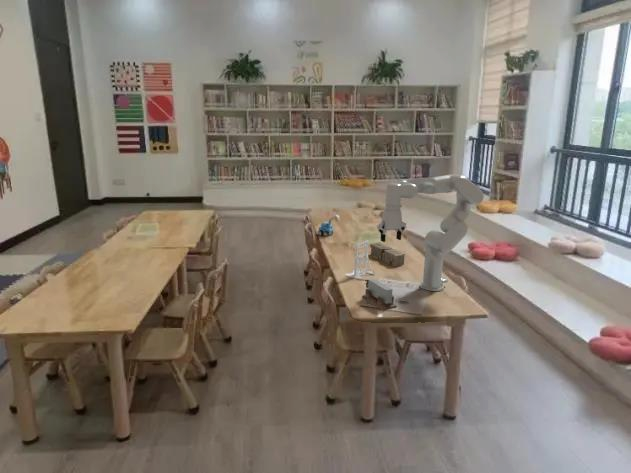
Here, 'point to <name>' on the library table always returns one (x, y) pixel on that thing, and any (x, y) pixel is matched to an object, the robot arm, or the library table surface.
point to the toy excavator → (327, 227)
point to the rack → (378, 301)
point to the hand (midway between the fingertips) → (390, 240)
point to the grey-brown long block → (387, 254)
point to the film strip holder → (356, 272)
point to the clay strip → (380, 290)
